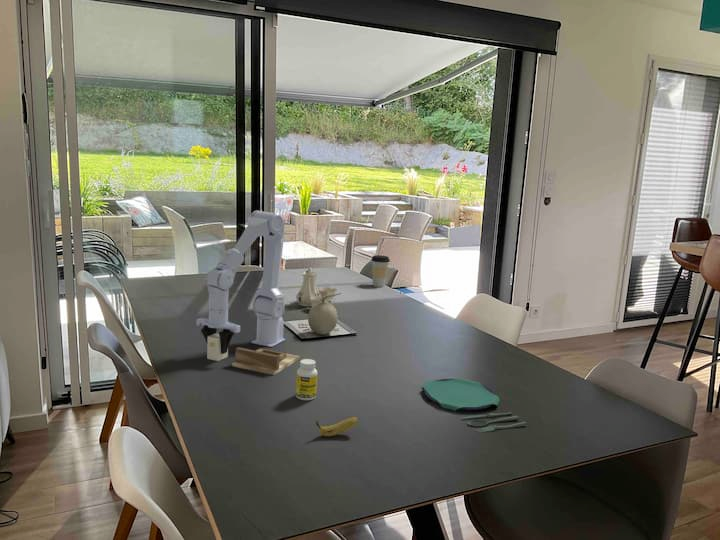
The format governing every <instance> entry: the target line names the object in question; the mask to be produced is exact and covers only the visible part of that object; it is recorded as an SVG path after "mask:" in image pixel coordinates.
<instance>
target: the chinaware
mask: <svg viewBox="0 0 720 540" xmlns="http://www.w3.org/2000/svg"><path fill="white" fill-rule="evenodd" d="M317 276H318V273H317V272H315V271H314V270H313V269H312V267H311V266H310V267H308V269H307V270H305V272H304V271H303V272H302V284H301V287H300V290H299V291H298V292H297V294H296V296H295V299H296V301H297V302H298V305H299V306H302V307H308V308H309V307H311V308H312V307H313V306H314V305H315V304H317V303H318V302H319V301H320V299H321V298H323V297H326V296H329V295H334V294H337V290H338V289H337V288H335V287H334V288H331V287H329V286H326V287H318V286H317ZM334 297H335V296H331V297H328V298H325V300H324V302H327V303H330V302H331V301H332V299H334ZM320 302H322V300H321V301H320Z"/></svg>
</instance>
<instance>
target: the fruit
mask: <svg viewBox="0 0 720 540" xmlns="http://www.w3.org/2000/svg"><path fill="white" fill-rule="evenodd" d="M338 295H342V293H341V292H340V293H335V294H334V295H329V296H326V297H323V298H321V299H320V301H321V300H322V302H320V301H319V302H318V303H317V304H315V305H314V306H313V307H312V306H311V308H310V309H309V312H308V315H307V319H308V320H307V322H308V326H309V329H310V330H311V331H312V332H313V333H315V334H318V335H321V334H322V335H323V334H324V335H328V334H330V333H332V332H333V331H334V329H336V327H337V323H338V317H339V316H338V312H337V309H336V308H335V306H334V305H332V304H331V303H330V302H329V303H327V302H324V300H325V298H328V297H331V296H334V297H335V296H338ZM322 335H321V336H322Z"/></svg>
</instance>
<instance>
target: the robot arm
mask: <svg viewBox="0 0 720 540" xmlns="http://www.w3.org/2000/svg"><path fill="white" fill-rule="evenodd" d="M285 222H286V220H285V219H284V217H283V216H282V215H281V214H280V213H279V212H269V211H263V210H262V211H261V210H258V209H257V210H254V211H253V212H251V214H250V216H249V217H248V218H247V226H246V228H244V231H243V232H242V234H241V236H240V238H239V239H238V241H237V242H236V244H235V246H234V248H233V247H232V248H228V249H227V250H225V252H224V255H223V256H222V258H220V260H219V262H218V263H217V264H216V266H215V268H211V269H210V270H209V271H208V272H207V273H206V276H205V277H204V284H206V286H207V292H208V318H204V317H203V318H202V317H200V318H197V319H196V326H198V327H201V326H202V327H203V328H201V330H200V332H201V334H202V335H203V337H204V339H205V342H206V343H207V339H208V336H210V335H213V334H215V333H217V331H218V330H221V331H219V332H218V333H219V336H220V341H221V354H224V353H226V352H227V349H228V350H229V345H230V342H231V340H232V338H233V336H234V335H235V334H238V333H241V325H239V324H236V323H233V322H230V321H229V294H230V293H229V292H230V291H229V289H231V287H232V286H233V284H234V281H235V280H234V279H235V276H236V272H237V271H238V269H239V268H240V266H241V265H242V263H243V262H244V261H245V258H244V257H245V256H244V254H245V253H246V252H247V251H248V249H249V248H250V247H252V245H253V243H254V242H255V241H256V240H257V238H259V237H263V238H264V239H265V240H266V245H265V254H264V264H263V265H264V266H263V273H262V281H261V282H262V283H261V287H260V288H259V289H257V291H255V296H254V299H253V301H252V307H251V308H252V310H253V312H254V313H255V317H256V316H257V317H256V318H257V319H256V321H257V322H256V339H254V340H251V341H250V342H251V344H255V345H259V346H265V347H269V348H272V347H274V346H276V345H279V344H280V343H282V342H284V341H286V338H284V318H283V315H284V312H285V309H286V307H285V300H284V299H285V295H284V294H283V293H282V291H281V290H280V289H279V287H280V275H281V266H282V259H283V258H282V257H283V250H284V240H285Z"/></svg>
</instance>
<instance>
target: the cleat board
mask: <svg viewBox="0 0 720 540" xmlns="http://www.w3.org/2000/svg"><path fill="white" fill-rule="evenodd" d="M234 353H235V356H234V357H235V361H233V362H232V363H231V364H232V365H231V366H232V367H235V368H239V369H244V370H248V371H253V372H257V373H262V374H267V375H271V376H275V375H277V374H278V373H280V372H281V371H283V370H285V369H286V368H288V367H290V366H291V365H293V364H295V363H296V362H298V361H299V360H300V359H301V356H300V355H296V354H291V353H286V352H281V351H276V350H271V349H266V348H263V347H262V348H259V349H256V350H254V349H249V348H243V347H236V348H235V352H234Z"/></svg>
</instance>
